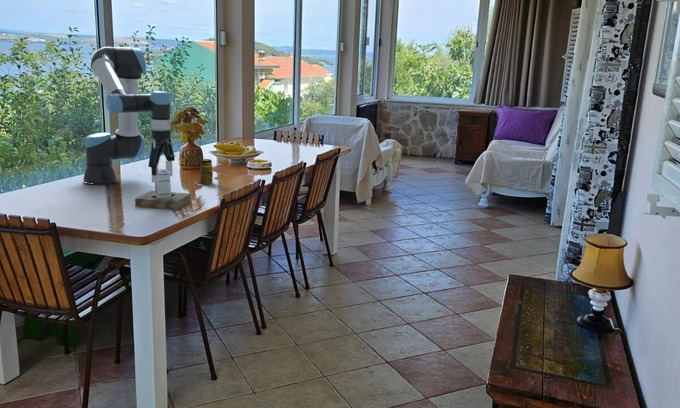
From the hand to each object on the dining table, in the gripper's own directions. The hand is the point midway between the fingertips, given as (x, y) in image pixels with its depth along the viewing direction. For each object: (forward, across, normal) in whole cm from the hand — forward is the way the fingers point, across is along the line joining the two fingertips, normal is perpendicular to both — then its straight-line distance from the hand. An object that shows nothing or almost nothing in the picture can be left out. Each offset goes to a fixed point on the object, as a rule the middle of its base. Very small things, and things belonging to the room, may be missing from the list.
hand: (162, 179), depth 251 cm
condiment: (+11, +43, -2) cm, 44 cm away
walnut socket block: (+11, 0, 0) cm, 11 cm away
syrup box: (+11, -1, 0) cm, 11 cm away
